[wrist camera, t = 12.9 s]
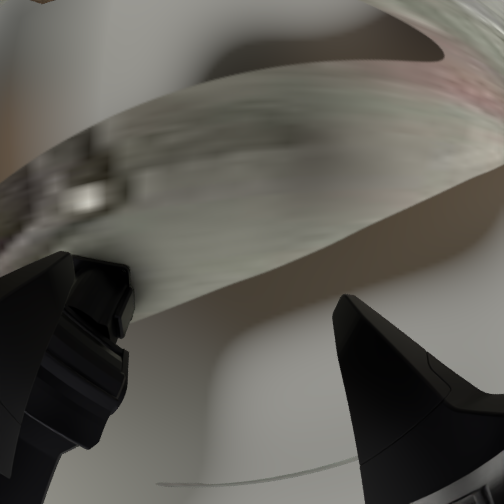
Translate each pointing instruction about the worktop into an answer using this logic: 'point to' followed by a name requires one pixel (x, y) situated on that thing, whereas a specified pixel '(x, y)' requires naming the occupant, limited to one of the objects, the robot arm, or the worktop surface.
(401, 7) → the worktop surface
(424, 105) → the worktop surface
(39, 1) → the walnut tray
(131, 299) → the robot arm
